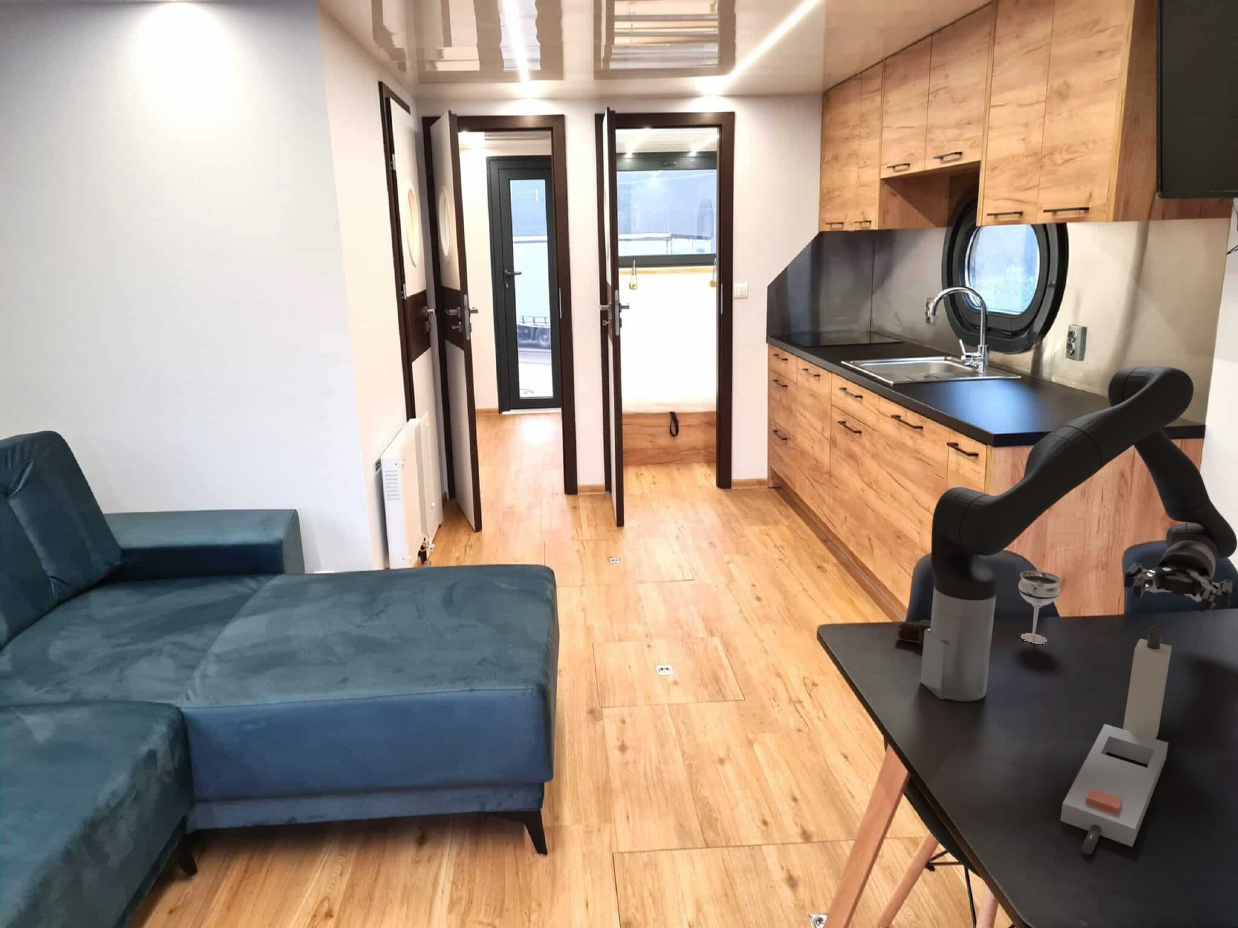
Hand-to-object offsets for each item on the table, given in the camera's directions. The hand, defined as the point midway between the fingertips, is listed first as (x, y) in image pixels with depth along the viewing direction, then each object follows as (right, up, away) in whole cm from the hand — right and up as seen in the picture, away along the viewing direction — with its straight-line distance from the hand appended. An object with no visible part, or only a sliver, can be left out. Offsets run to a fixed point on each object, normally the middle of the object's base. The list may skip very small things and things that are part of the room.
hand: (1170, 598), depth 135 cm
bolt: (-26, -13, +25) cm, 38 cm away
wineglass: (-8, -12, +27) cm, 31 cm away
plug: (-7, -19, -4) cm, 21 cm away
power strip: (-19, -23, -19) cm, 36 cm away
